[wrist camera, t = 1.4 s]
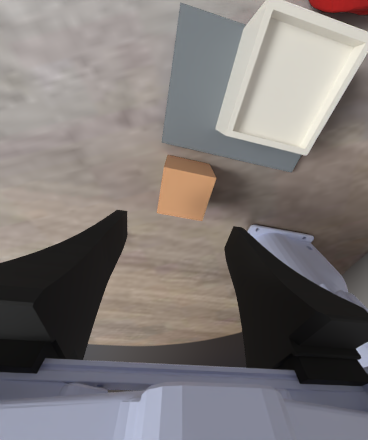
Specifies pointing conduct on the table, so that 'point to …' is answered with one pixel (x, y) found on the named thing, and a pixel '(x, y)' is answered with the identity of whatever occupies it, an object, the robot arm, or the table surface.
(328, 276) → the robot arm
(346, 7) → the tracker holder
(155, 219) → the table surface
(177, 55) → the baseplate
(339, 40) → the cream base block
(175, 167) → the orange block
